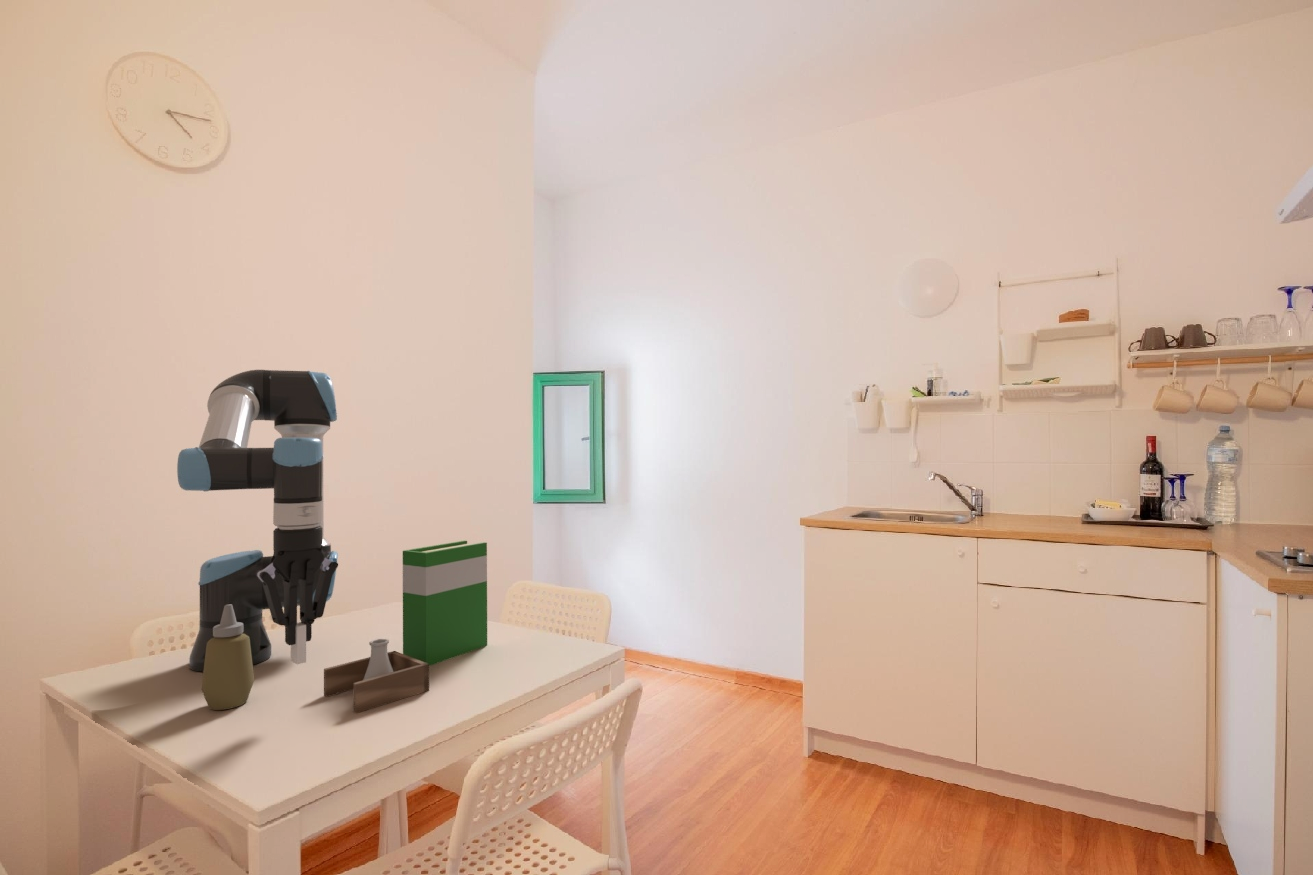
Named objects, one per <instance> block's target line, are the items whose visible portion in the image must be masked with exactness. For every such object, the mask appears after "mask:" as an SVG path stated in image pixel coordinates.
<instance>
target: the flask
mask: <svg viewBox="0 0 1313 875" xmlns="http://www.w3.org/2000/svg"><path fill="white" fill-rule="evenodd" d="M389 643H390V640H389V639H386V638H377V639H373V640H371V641H369V646H370V656H369V657H370V662H369V665H368V668H367V671H366V674H365V676H364V679H363V680H366V679H370V678H374V677H377V676H381V675H384V674H388V673H392V672H393V669H392V666H391V664H390V661H389V657H388V652H389V651H388V644H389Z"/></svg>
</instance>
